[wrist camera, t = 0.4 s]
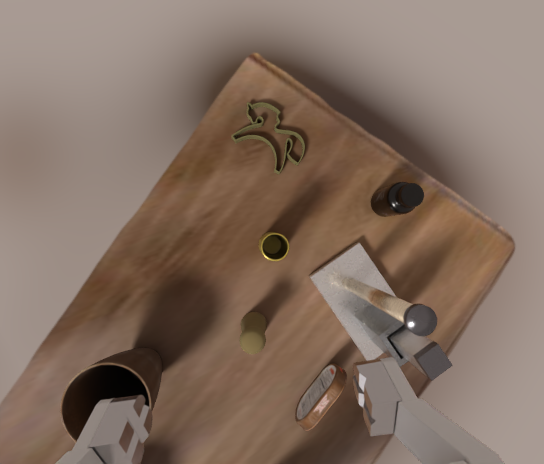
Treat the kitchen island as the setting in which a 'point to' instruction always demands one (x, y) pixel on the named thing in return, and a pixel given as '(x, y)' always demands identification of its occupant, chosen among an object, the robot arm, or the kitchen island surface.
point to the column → (420, 352)
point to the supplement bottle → (397, 199)
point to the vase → (274, 246)
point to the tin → (320, 396)
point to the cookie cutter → (255, 125)
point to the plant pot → (110, 385)
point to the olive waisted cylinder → (253, 332)
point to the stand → (369, 304)
